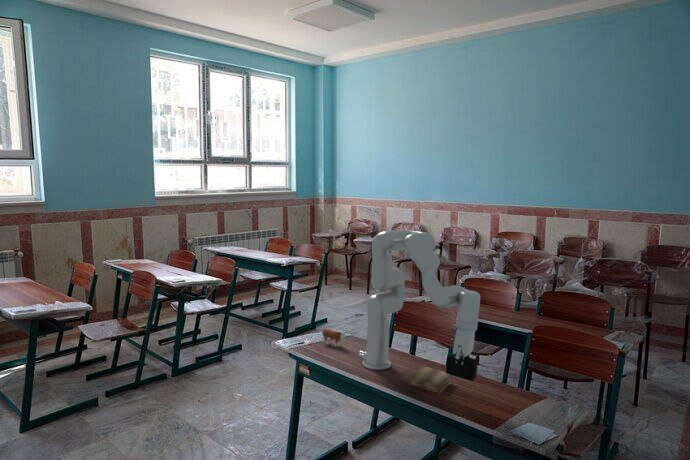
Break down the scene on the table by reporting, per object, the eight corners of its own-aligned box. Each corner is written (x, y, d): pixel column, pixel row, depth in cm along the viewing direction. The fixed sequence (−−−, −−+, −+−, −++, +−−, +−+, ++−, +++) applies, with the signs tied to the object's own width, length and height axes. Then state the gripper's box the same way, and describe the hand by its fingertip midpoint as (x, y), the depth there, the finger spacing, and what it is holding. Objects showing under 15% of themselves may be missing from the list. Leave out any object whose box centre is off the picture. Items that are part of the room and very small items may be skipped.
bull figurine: (343, 349, 231) (344, 332, 230) (320, 343, 238) (321, 327, 237) (348, 347, 234) (349, 330, 233) (325, 341, 241) (326, 324, 241)
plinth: (409, 385, 194) (410, 375, 194) (422, 374, 205) (423, 365, 204) (440, 393, 187) (440, 383, 187) (451, 382, 198) (452, 373, 198)
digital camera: (477, 376, 181) (479, 358, 180) (472, 381, 177) (474, 363, 176) (450, 368, 187) (452, 351, 186) (445, 373, 182) (447, 355, 181)
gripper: (464, 316, 188) (459, 361, 191) (448, 327, 174) (443, 376, 176) (483, 321, 185) (478, 367, 187) (469, 332, 170) (464, 382, 173)
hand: (461, 370), depth 182 cm, fingers closed on digital camera, 5 cm apart
